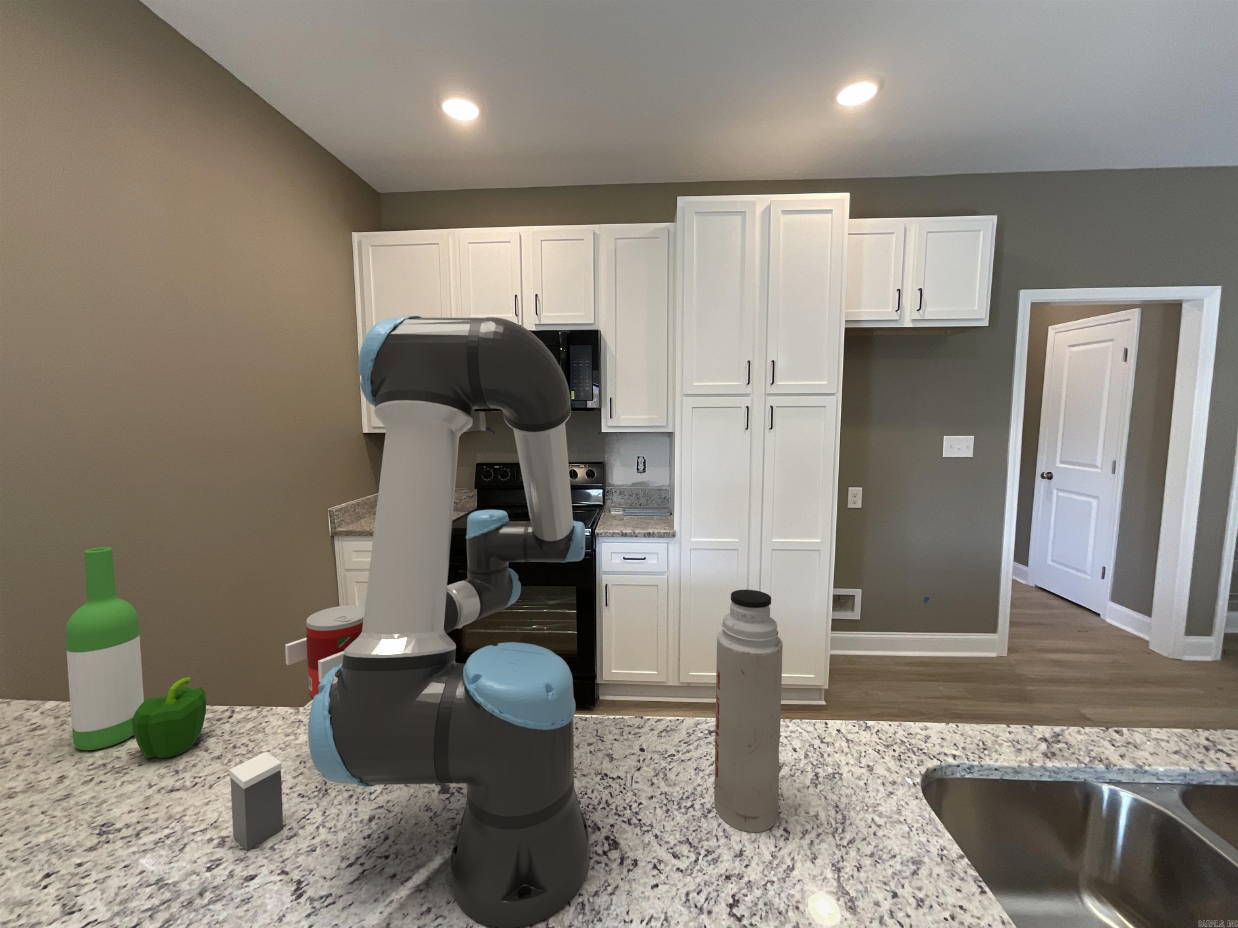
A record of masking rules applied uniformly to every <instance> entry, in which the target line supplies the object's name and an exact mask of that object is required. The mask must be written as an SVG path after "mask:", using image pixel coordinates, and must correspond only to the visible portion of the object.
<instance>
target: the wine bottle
mask: <svg viewBox="0 0 1238 928" xmlns="http://www.w3.org/2000/svg"><path fill="white" fill-rule="evenodd" d="M84 567H85V569H84V571H85V587H86V588H85V590H86V602H85V603H84V604H82V605H81V606H80V607H79V608H78V609H77V610H75V611H74V612H73V614H72V615H71V616H70V617H69V619H68V621H67V623H66V626H65V643H66V659H67V661H66V662H67V677H68V690H69V692H68V693H69V703H70V704H69V705H70V719H71V721H70V722H71V731H72V742H73V745H74V747H75V748H76V749H78V750H81V751H94V750H101V749H104V748H108V747H111V746H114V745H117V744H120V743H122V742H124V741H126V740H128V739H130V738H131V736H132V737H133V736H134V734H133V726H132V718H133V716H134V714H135V712H136V710H137V709H138V707H139V706H140V705H141V704H142V703H143V702H144V700H145V697H144V682H143V668H142V651H141V638H140V637H141V636H140V625H139V624H140V623H139V614H138V612H137V610H136V608H135V607H134V606H133V605H132V604H131V603H129V601H126V600H125V599H122V598H118V597H117V595H116V581H115V580H116V579H115V569H114V568H115V567H114V554H113V548H112V547H110V546H104V547H103V546H102V547H94V548H89V549H88V548H87V549H86V550H85V551H84Z"/></svg>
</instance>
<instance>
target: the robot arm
mask: <svg viewBox="0 0 1238 928" xmlns="http://www.w3.org/2000/svg"><path fill="white" fill-rule="evenodd" d="M358 354H359V355H358V363H357V371H358V372H357V373H358V375H359V376H361V379H360V381H359V387H360V389H361V392H362V393H363V394H362V395H363V396H364V398H365V400H366V401H367V402H368V403H369V404H370V405H372V406H373V407H374V410H373V412H374V415H375V417H376V418H377V419H378V420H379V422H380V423H382V425H383V426H384V428H385V436H384V445H383V453H382V460H381V469H380V475H379V476H380V478H379V485H378V495H377V503H376V510H375V511H376V512H375V519H374V527H373V537H372V543H371V552H370V553H371V554H370V561H369V569H368V576H367V577H368V578H367V587H366V594H365V596H366V597H365V602H364V607H365V610H364V618H363V627H362V633H361V634H360V635H359V637H358V638H357V639H356V640H355V641H353V642H352V643H351V644H350V645H349V646H348V647H347V648H346V649H345V650H344V651H343V652H340V653H337V654H335V655H332V656H329V657H327V658H324V659H322V660H319V661H318V671H319V682H321V683H320V684H319V686H318V690H319V694H317V695H315V696H314V699H313V700H312V702H311V706H310V710H309V716H308V725H307V732H308V733H307V739H308V749H309V754H310V756H311V759H312V764H313V765H314V767H315V769H316V770H317V771H318V772H319V773H321V776H322V777H323V778H324V779H326V780H327V781H329V782H331V783H335V784H345V785H357V786H359V787H362V788H363V787H364V788H368V787H369V788H370V787H375V786H386V785H387V786H388V785H390V786H391V785H392V786H393V785H396V786H397V785H444V784H447V785H448V784H456V785H457V784H458V785H459V784H460V785H461V784H466V805H465V808H464V811H463V815H462V817H461V821H460V824H459V829H458V833H457V834H456V837H455V839H454V841H453V846H452V850H451V856H450V883H451V885H450V886H451V890H452V894H453V896H454V900H455V901H456V903H457V904H458V906H459V908H460V909H461V910H462V912H464V913H465V914H466V915H467V916H468V917H470V918H471V919H472V920H473V921H476V922H478V923H480V924H483V925H486V926H489V927H492V928H521V927H526V926H530V925H533V924H536V923H539V922H541V921H543V920H546V919H547V918H549V917H551V916H552V915H554V914H555V913H557V912H558V911H560V910H561V909H563V908H564V907H565V906H566V905H567V904H568V903H569V902H570V901H571V899H573V897H575V895H576V894H577V892H578V891H579V890H580V888H581V886H582V885H583V883H584V881H585V878H586V876H587V873H588V870H589V864H590V832H589V827H588V823H587V821H586V818H585V816H584V813H583V811H582V810H581V805H580V801H579V797H578V794H577V792H576V790H575V778H574V777H575V774H574V773H575V765H574V763H575V762H574V761H575V757H574V755H575V754H574V752H575V751H574V749H575V748H574V718H575V714H576V706H577V705H576V700H575V697H574V684H573V683H574V681H573V675H572V672H571V671H572V670H571V669H570V667H569V665H568V664H567V662H566V661H565V660H564V659H563V658H562V657H561V656H559V655H558V654H556V653H555V652H554V651H552V650H551V649H548V648H545V647H543V646H540V645H536V644H531V643H525V642H513V641H512V642H510V641H508V642H499V643H497V645H492V644H489V645H486V646H483V647H481V648H479V649H477V650H476V651H474V652H473V653H472V654H470V655H469V656H468V658H467V660H466V662H465V663H463V662H462V663H461V662H456V651H457V650H456V648H457V646H456V645H457V644H456V643H455V642H454V640H453V639H452V638H451V637H450V636H449V635H448V634H447V633H450V632H452V631H453V630H455V629H456V630H457V629H462V628H463V626H466V625H469V624H470V623H473V622H475V621H478V620H480V619H482V618H485V617H487V616H489V615H492V614H495V613H497V612H501V611H502V610H505V609H506V608H508V607H510V606H511V605H513V604H515V603H516V602H517V600H518V599H519V597H520V595H521V591H522V585H521V582H520V581H519V575H518V573H516V571H514V570H513V569H512V568H509V563H511V562H513V563H518V562H522V563H524V562H526V563H529V562H534V563H535V562H537V563H540V562H541V563H542V562H544V563H545V562H546V563H568V562H579V561H582V560H583V559H584V557H585V553H586V526H585V524H584V522H582V521H576V520H574V518H573V506H572V505H573V504H572V493H571V479H570V468H569V467H570V466H569V456H568V455H569V454H568V444H567V431H566V423H567V422H568V420H569V418H570V417H571V414H572V405H571V404H572V403H571V393H570V389H569V385H568V382H567V379H566V376H565V374H564V372H563V370H562V368H561V366H560V365H559V363H558V361H557V359H556V358H555V356H554V355H553V353H552V352H551V351H550V350H549V349H548V347H547V346H546V345H545V343H544V342H543V341H542V340H540V338H538V337H537V336H536V334H534V333H533V332H532V331H530V330H529V329H527V328H525V326H522V325H520V324H519V323H516V322H514V321H512V320H509V319H507V318H503V317H502V318H500V317H494V316H488V317H423V316H420V315H406V316H404V317H388V318H384V319H382V320H380V321H378V322H377V323H375V324H374V325H372V327H371V328H370V329H369V330H368V332H367V333H366V335H365V337H364V338H363V341H362V344H361V347H360V350H359V353H358ZM475 409H476V410H477V409H481V410H483V409H486V410H487V409H490V410H491V409H499V410H501V412H502V414H503V416H502V417H503V420H504V421H505V423H506V425H507V426H509V427H510V428H511V429H513V434H514V439H515V444H516V450H517V455H518V461H519V466H520V471H521V477H522V482H523V487H524V494H525V498H526V503H527V508H528V516H529V519H530V521H518V520H517V521H513V520H510V519H509V515H508V513H507V511H505V510H501V509H483V510H482V509H481V510H475V511H473V512H471V513H470V514H469V515H468V516H467V520H466V521H467V522H466V535H465V539H466V556H467V557H466V559H467V565H466V566H467V574H466V575H467V579H464V580H461V581H459V580H458V581H457V582H454V583H451V584H450V583H449V584H448V578H449V577H448V576H449V568H450V567H449V566H450V553H451V540H452V531H453V530H452V529H453V516H454V507H455V504H454V503H455V491H456V479H457V470H458V469H457V467H458V458H459V456H458V454H459V443H460V442H459V441H460V437H461V435H462V434H463V433H464V432H466V431H468V429H470V428H471V427H472V426H473V421H474V411H475ZM284 651H285V652H284V654H285V664H286V665H287V666H290V665H293V664H296V663H299V662H301V661H304V660H307V639H306V637H304V638H301V639H298V640H295V641H292V642H289V643H285V645H284Z"/></svg>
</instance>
